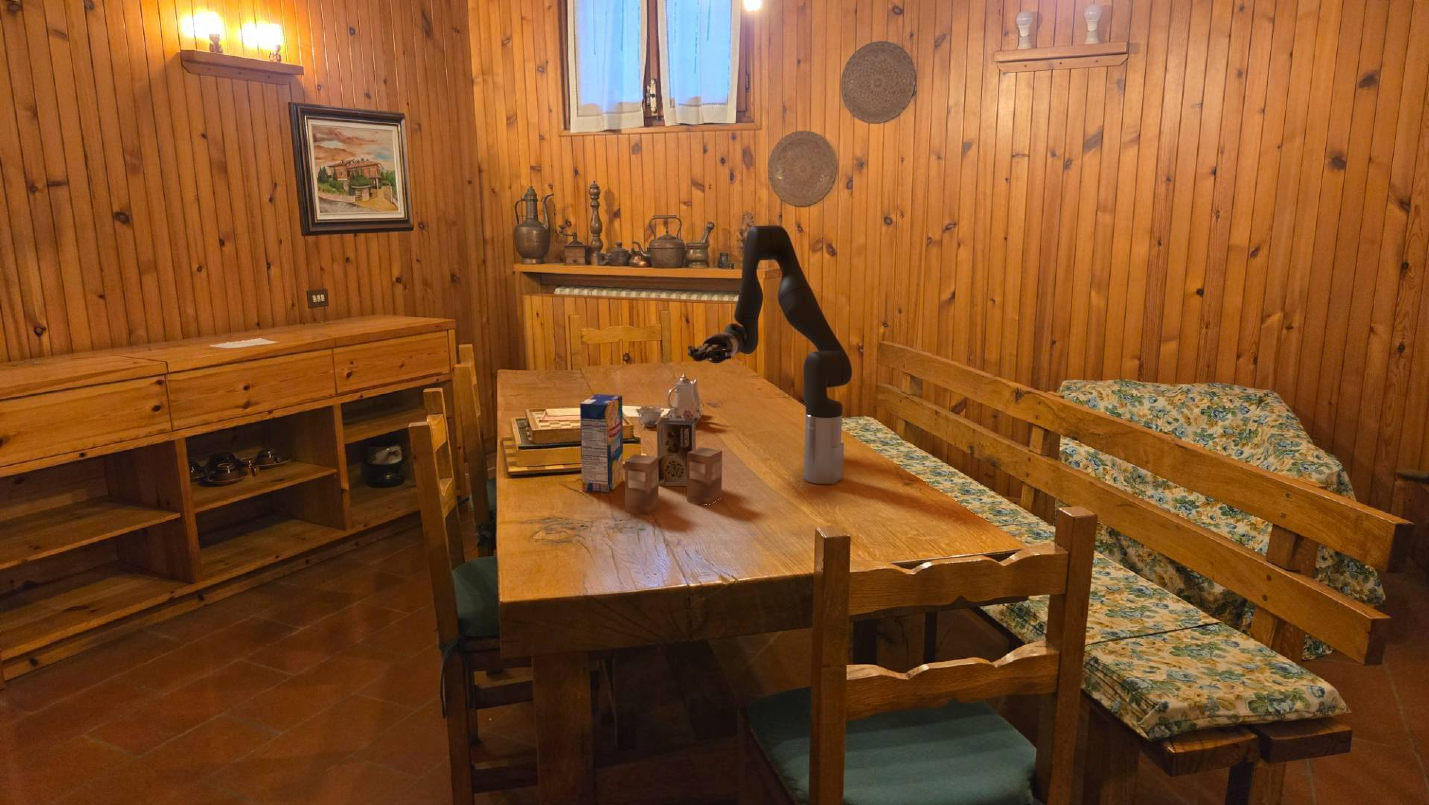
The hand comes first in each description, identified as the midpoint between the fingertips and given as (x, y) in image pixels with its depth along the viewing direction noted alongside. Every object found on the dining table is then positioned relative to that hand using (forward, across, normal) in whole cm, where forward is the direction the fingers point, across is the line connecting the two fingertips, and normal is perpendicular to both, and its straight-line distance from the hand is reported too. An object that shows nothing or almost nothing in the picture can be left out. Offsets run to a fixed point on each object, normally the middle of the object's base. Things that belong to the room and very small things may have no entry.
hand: (697, 357), depth 240 cm
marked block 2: (+22, +11, +30) cm, 39 cm away
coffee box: (+12, -1, +30) cm, 33 cm away
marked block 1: (+34, 0, +30) cm, 45 cm away
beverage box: (+22, -17, +30) cm, 41 cm away
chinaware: (-45, -24, +30) cm, 60 cm away
